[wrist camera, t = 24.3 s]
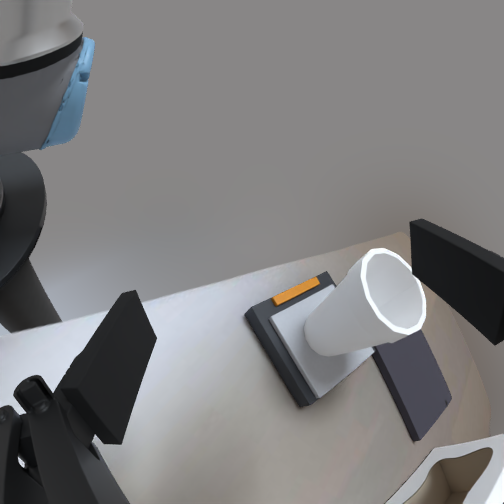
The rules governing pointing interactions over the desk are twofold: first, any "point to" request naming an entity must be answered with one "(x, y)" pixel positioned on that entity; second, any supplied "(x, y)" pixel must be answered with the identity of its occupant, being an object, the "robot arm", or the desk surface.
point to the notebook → (414, 381)
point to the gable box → (458, 475)
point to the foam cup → (368, 306)
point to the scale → (301, 341)
